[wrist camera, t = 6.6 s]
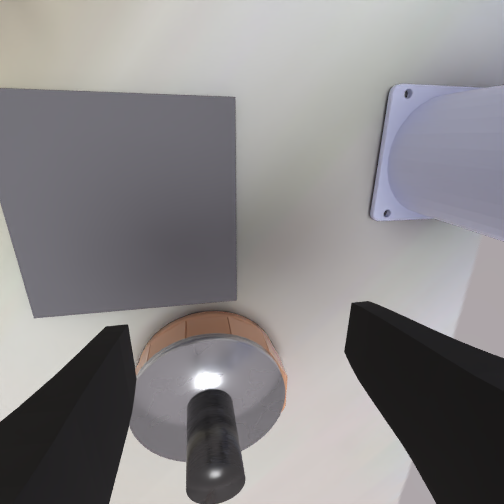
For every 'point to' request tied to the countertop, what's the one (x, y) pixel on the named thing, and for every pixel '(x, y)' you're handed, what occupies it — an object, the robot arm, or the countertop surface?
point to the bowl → (207, 325)
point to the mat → (119, 198)
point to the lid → (207, 408)
